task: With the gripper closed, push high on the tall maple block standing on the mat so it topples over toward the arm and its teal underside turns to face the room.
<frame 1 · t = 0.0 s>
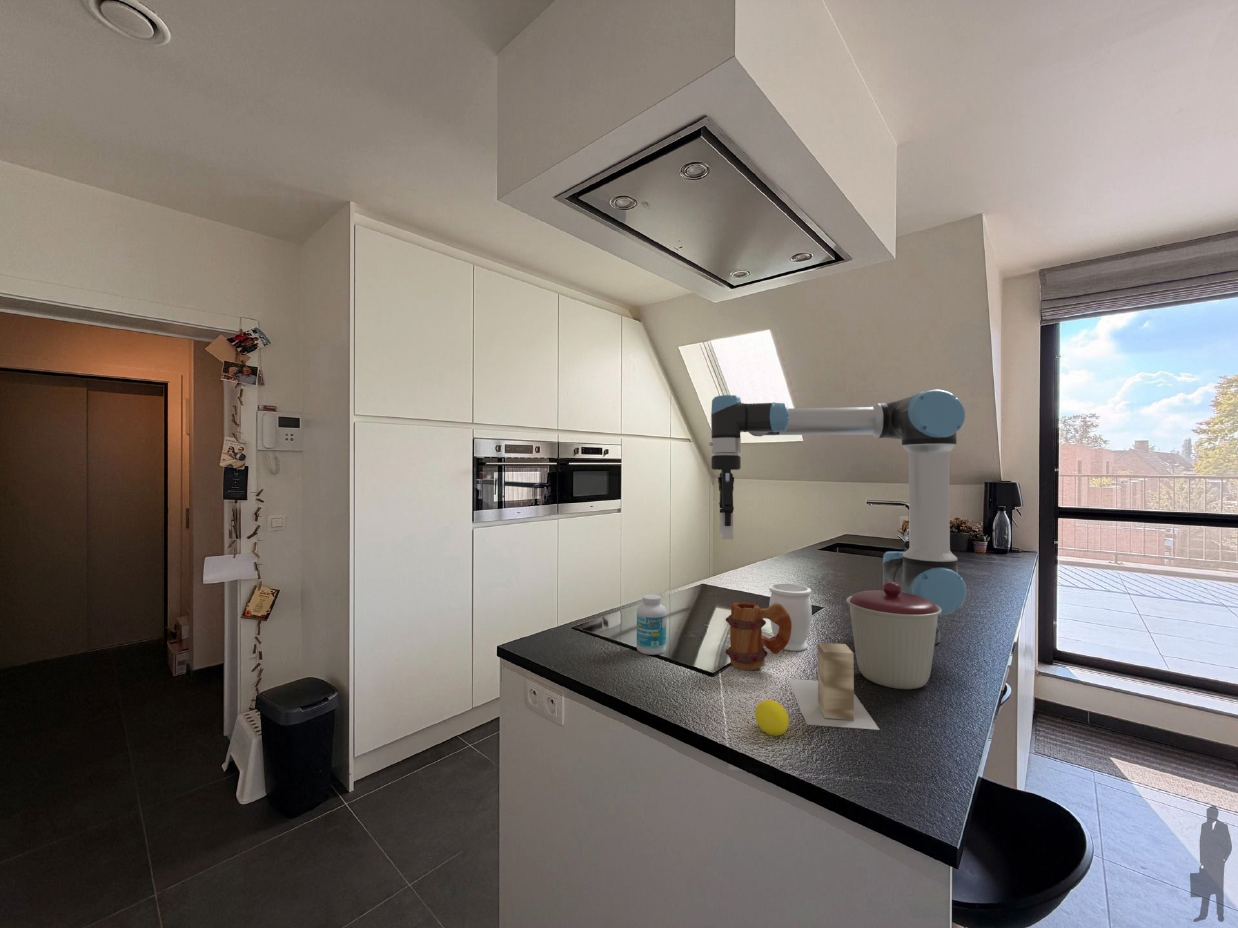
hand: (726, 535, 135), 28 cm above the counter, tool pointing down, fingers open, 13 cm apart
mat: (828, 703, 99), on the counter
lemon: (771, 733, 88), on the counter
canister: (892, 680, 110), on the counter
mug: (757, 669, 117), on the counter
pill bottle: (651, 651, 128), on the counter
jar: (790, 646, 132), on the counter
block: (835, 713, 94), resting on mat
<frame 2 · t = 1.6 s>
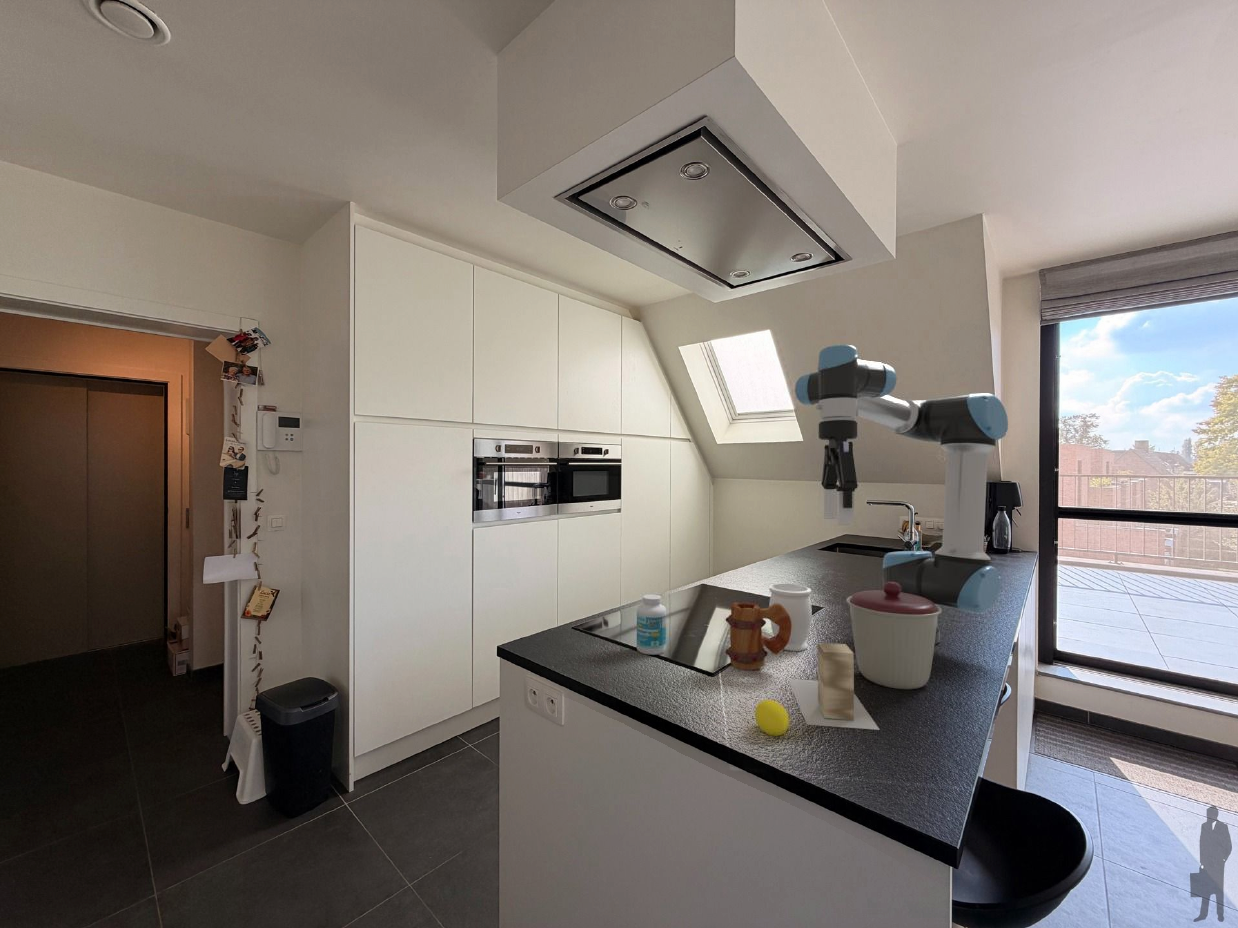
hand: (838, 521, 108), 34 cm above the counter, tool pointing down, fingers open, 13 cm apart
nothing on the counter moved.
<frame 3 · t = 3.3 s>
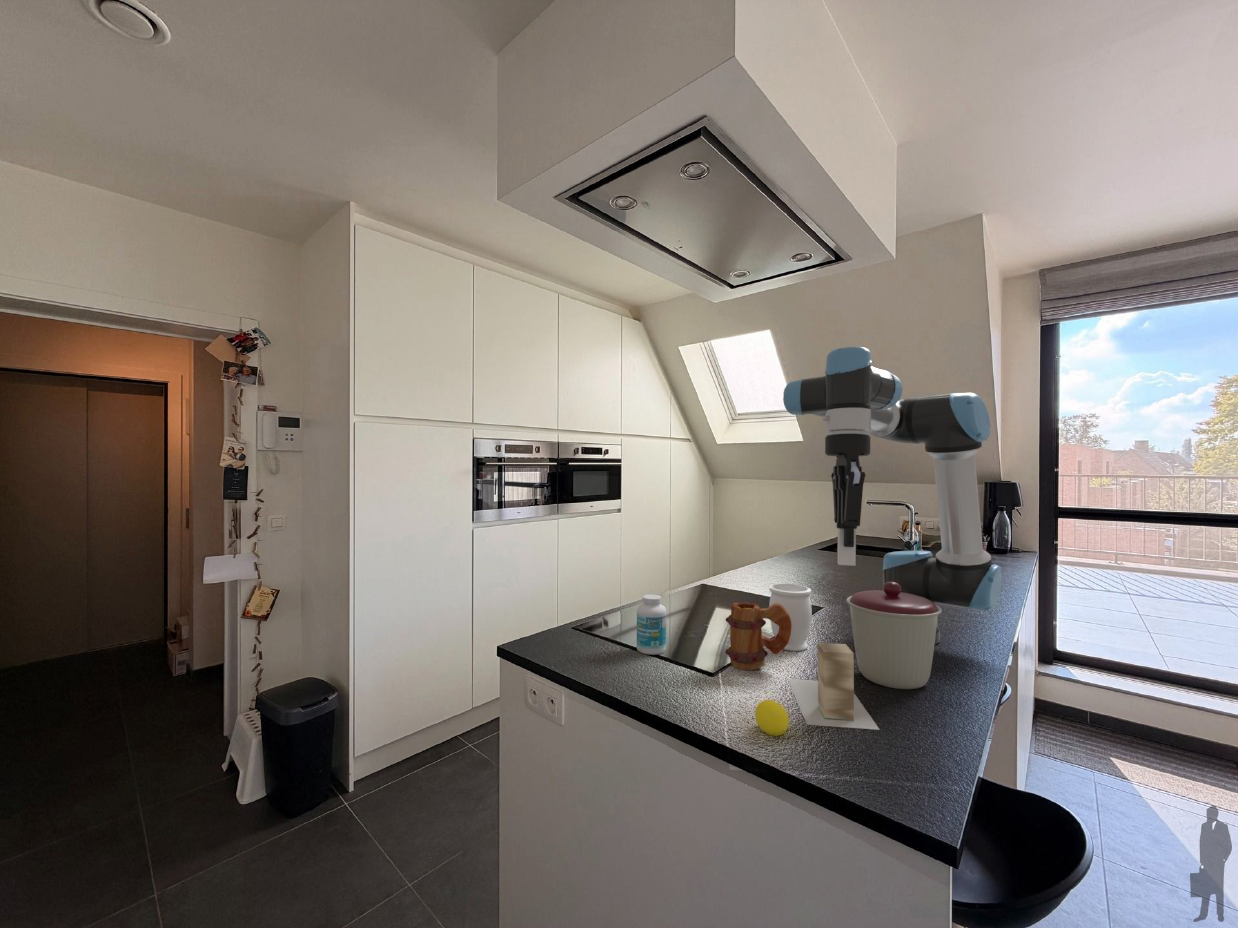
hand: (846, 564, 92), 28 cm above the counter, tool pointing down, fingers closed
nothing on the counter moved.
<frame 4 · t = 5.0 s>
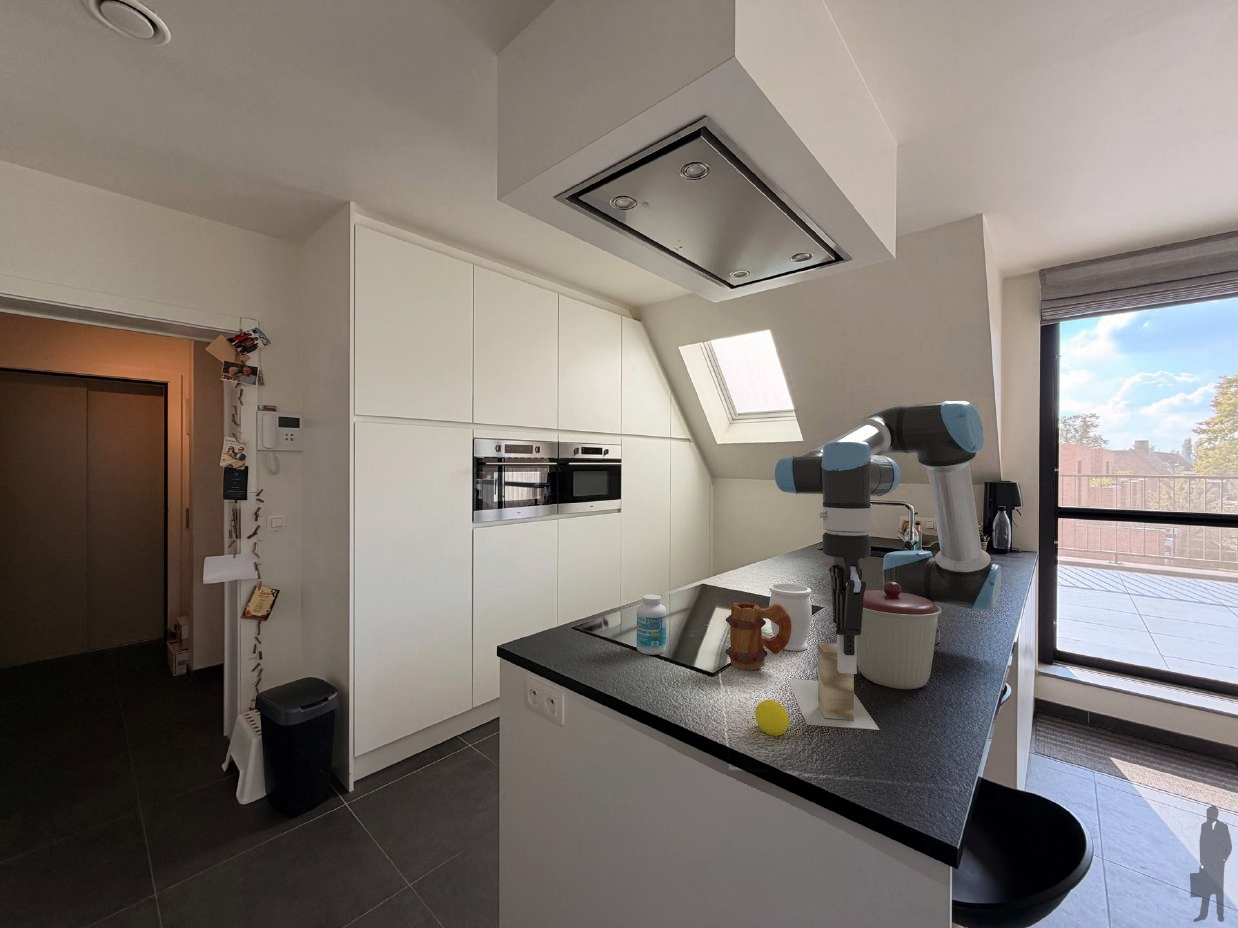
hand: (846, 671, 87), 11 cm above the counter, tool pointing down, fingers closed
nothing on the counter moved.
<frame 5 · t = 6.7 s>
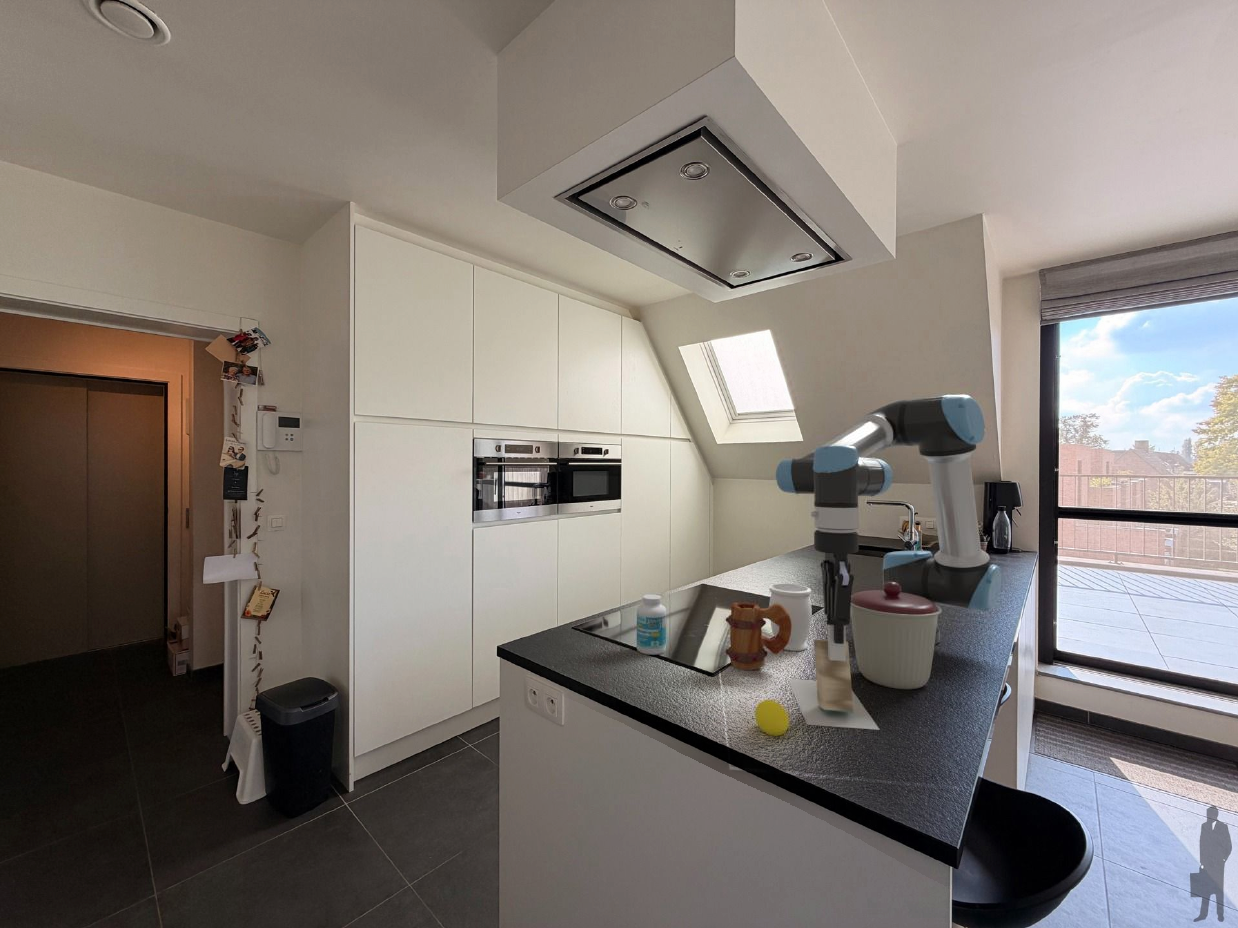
hand: (836, 658, 94), 11 cm above the counter, tool pointing down, fingers closed
block: (835, 709, 94), point 1 cm above the counter, tilted 16°, touching gripper, mat
everything else where it was.
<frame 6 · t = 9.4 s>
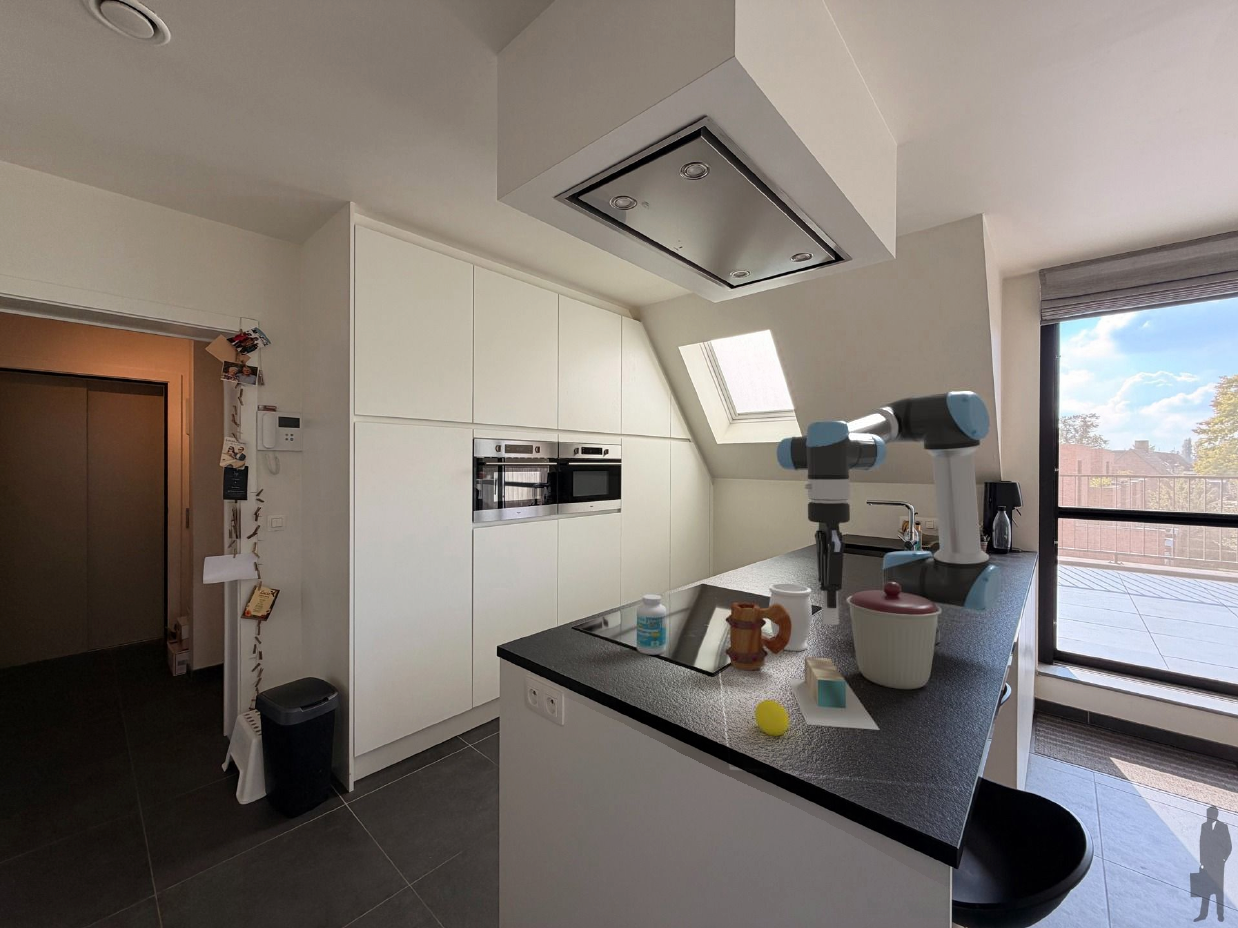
hand: (830, 623, 99), 16 cm above the counter, tool pointing down, fingers closed
block: (831, 693, 97), point 3 cm above the counter, tilted 90°, touching mat
everything else where it was.
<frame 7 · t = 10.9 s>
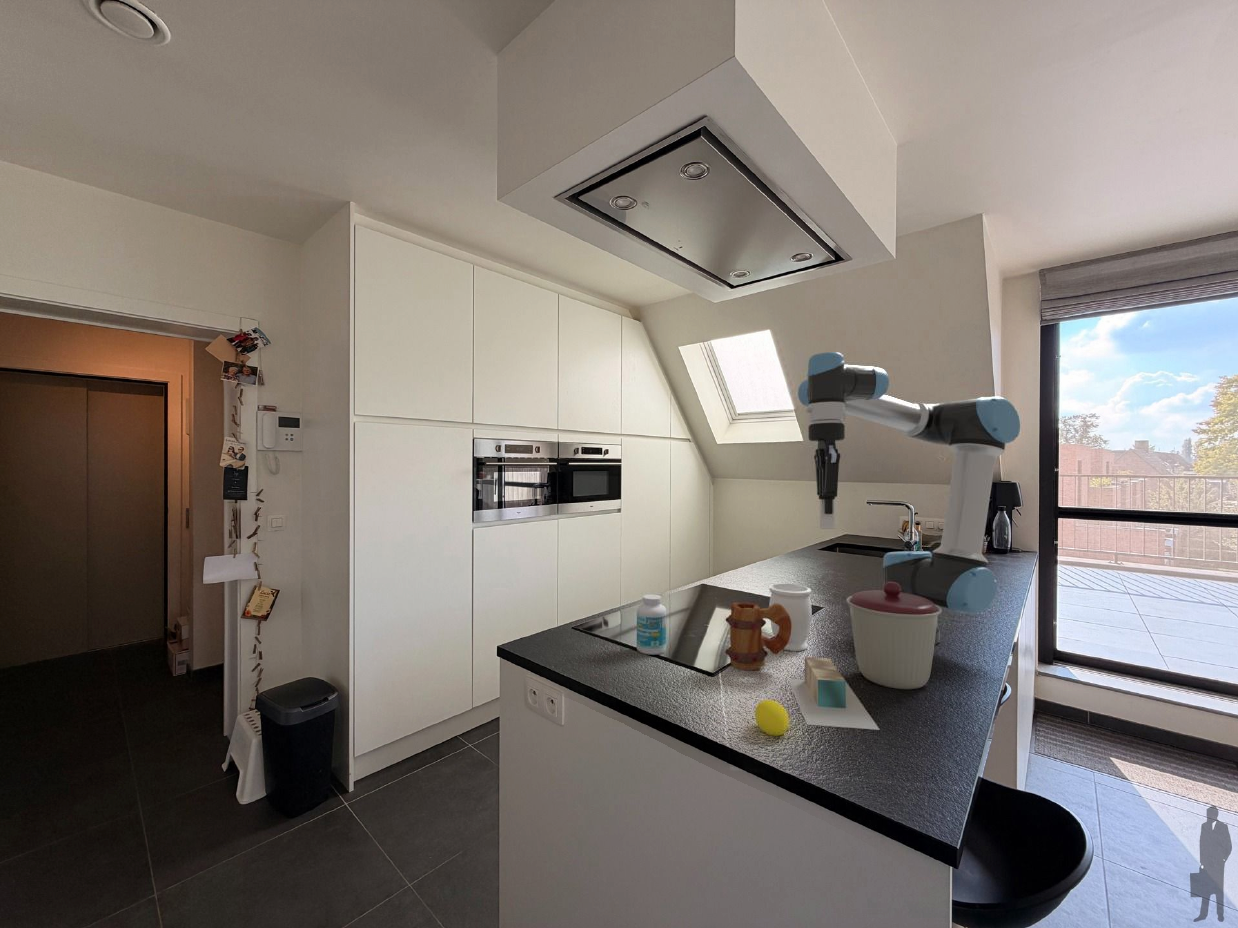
hand: (827, 528, 115), 32 cm above the counter, tool pointing down, fingers closed
nothing on the counter moved.
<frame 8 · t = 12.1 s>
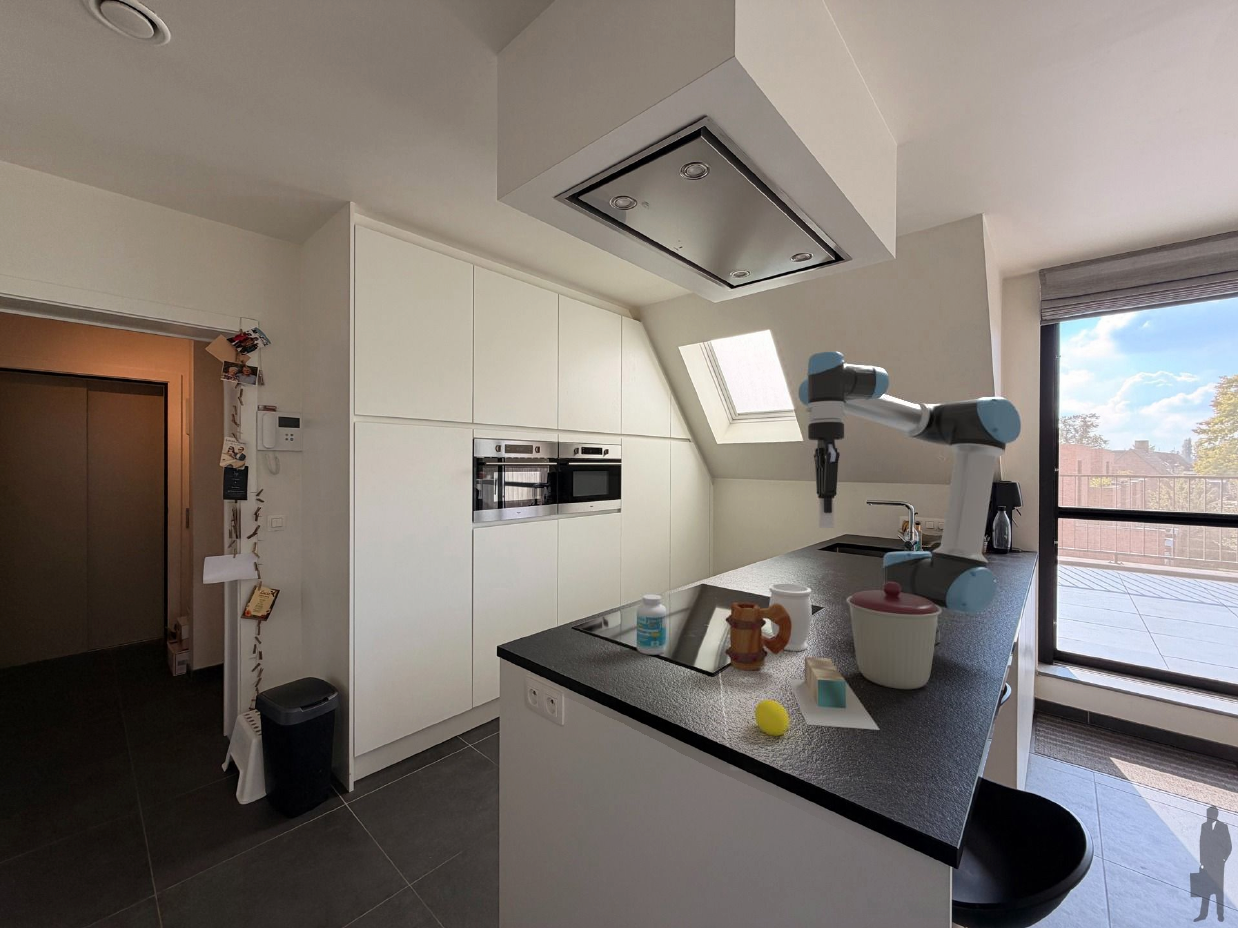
hand: (826, 527, 115), 32 cm above the counter, tool pointing down, fingers closed
nothing on the counter moved.
at the end: block tilted 90°; block inside the target area (2.0 cm from its centre), point 2.9 cm above the counter; the gripper is holding nothing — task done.
